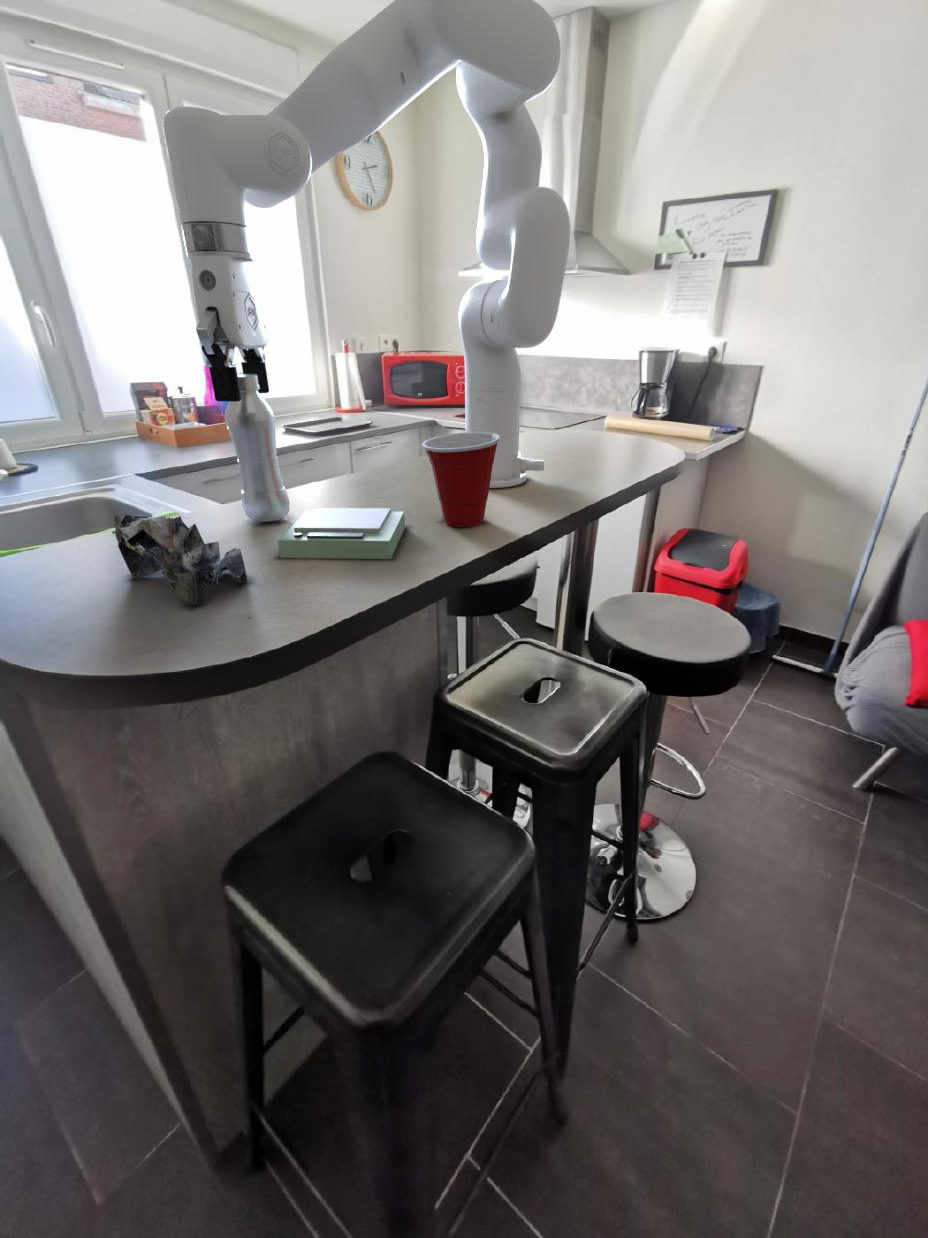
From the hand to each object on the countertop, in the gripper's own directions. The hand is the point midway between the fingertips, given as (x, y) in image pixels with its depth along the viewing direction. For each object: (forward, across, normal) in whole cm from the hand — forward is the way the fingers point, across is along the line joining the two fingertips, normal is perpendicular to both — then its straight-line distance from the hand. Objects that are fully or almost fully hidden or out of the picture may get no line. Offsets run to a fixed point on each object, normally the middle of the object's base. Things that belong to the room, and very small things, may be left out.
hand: (244, 396), depth 76 cm
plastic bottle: (+18, 0, 0) cm, 18 cm away
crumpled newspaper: (+18, -23, 0) cm, 29 cm away
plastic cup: (+17, 0, -30) cm, 34 cm away
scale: (+17, -9, -14) cm, 24 cm away
